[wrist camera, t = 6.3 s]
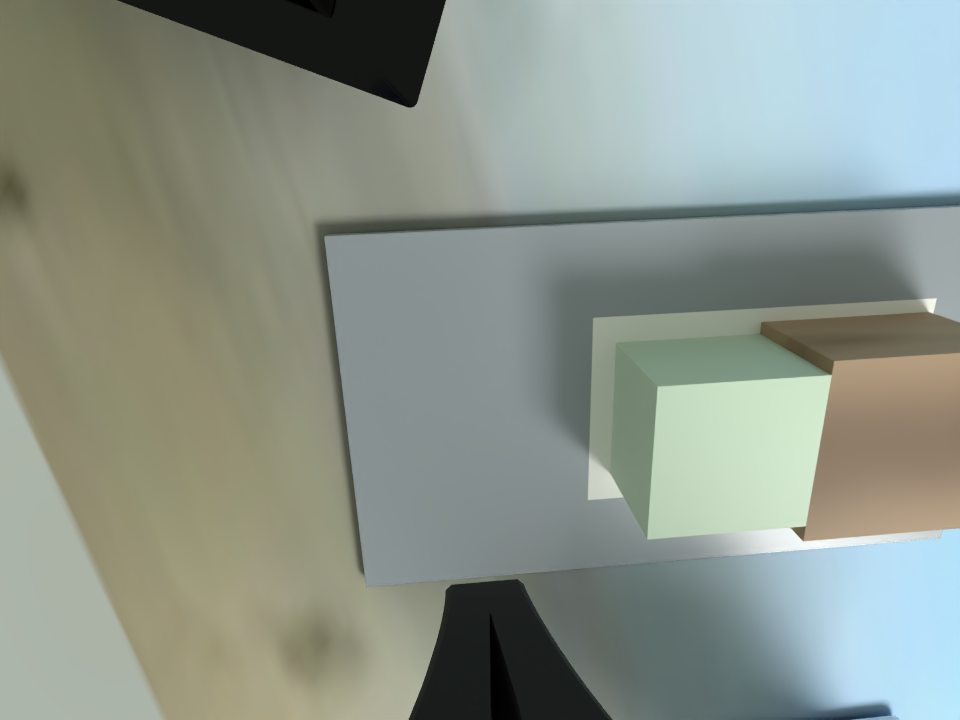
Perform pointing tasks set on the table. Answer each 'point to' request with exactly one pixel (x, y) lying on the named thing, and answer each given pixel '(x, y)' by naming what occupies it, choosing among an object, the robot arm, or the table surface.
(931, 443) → the walnut block
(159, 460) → the table surface
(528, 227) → the plate
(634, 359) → the green block
